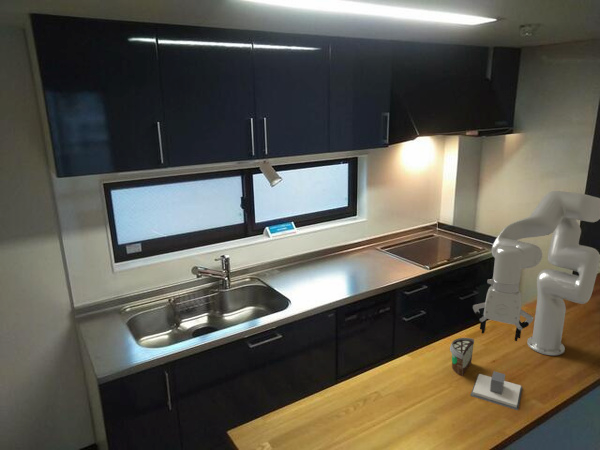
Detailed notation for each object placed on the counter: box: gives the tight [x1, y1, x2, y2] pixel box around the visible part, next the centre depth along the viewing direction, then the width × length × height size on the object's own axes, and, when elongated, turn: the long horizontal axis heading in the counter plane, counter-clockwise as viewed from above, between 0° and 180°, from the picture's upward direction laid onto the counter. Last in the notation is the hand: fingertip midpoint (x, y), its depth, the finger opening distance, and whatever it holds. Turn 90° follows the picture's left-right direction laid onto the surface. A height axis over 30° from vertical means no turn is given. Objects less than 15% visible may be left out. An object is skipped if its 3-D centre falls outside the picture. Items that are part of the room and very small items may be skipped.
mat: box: [470, 373, 523, 411], centre depth 140 cm, size 13×14×1 cm
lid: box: [472, 370, 522, 408], centre depth 139 cm, size 11×13×6 cm
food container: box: [449, 337, 475, 377], centre depth 152 cm, size 12×6×10 cm, turn 141°
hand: (499, 335), depth 135 cm, fingers open, 9 cm apart
